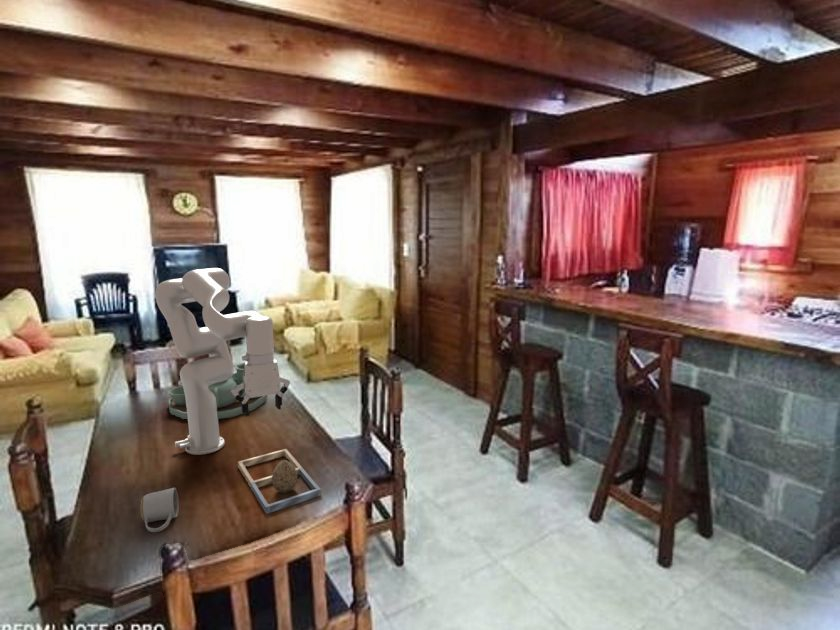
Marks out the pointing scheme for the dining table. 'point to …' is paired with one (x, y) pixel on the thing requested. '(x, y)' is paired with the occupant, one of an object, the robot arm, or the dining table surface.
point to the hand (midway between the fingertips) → (262, 411)
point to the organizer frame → (268, 480)
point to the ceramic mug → (159, 508)
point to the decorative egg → (284, 477)
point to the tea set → (217, 397)
